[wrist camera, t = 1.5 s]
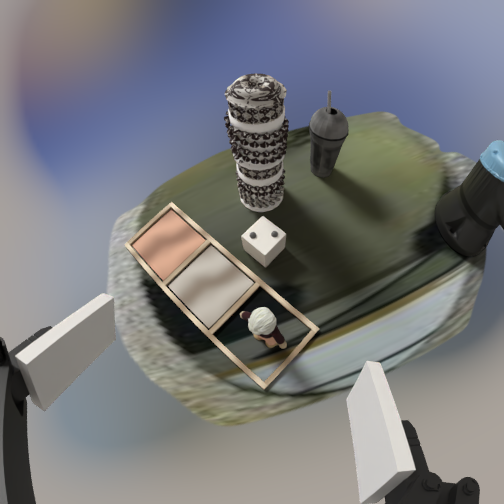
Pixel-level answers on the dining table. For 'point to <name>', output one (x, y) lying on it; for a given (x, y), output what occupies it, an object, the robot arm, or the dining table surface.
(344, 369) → the dining table surface
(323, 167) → the beverage cup
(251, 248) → the ivory die
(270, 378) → the wooden flat rectangular frame
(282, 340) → the grandmother figurine
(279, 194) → the decorative candle
